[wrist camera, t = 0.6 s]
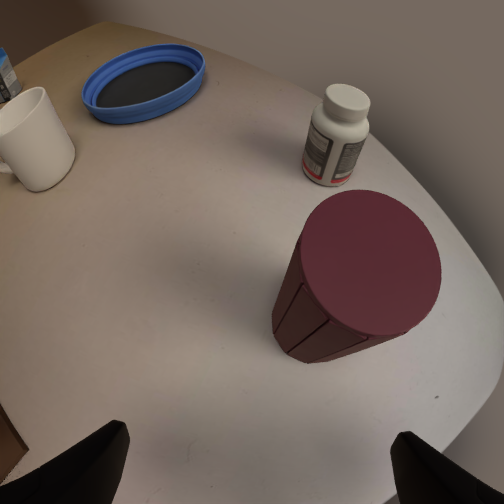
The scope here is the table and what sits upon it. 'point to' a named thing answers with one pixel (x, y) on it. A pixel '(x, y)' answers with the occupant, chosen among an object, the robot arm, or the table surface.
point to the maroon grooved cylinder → (355, 278)
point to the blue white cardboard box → (7, 79)
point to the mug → (34, 141)
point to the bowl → (144, 83)
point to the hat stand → (9, 446)
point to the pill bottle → (336, 135)
